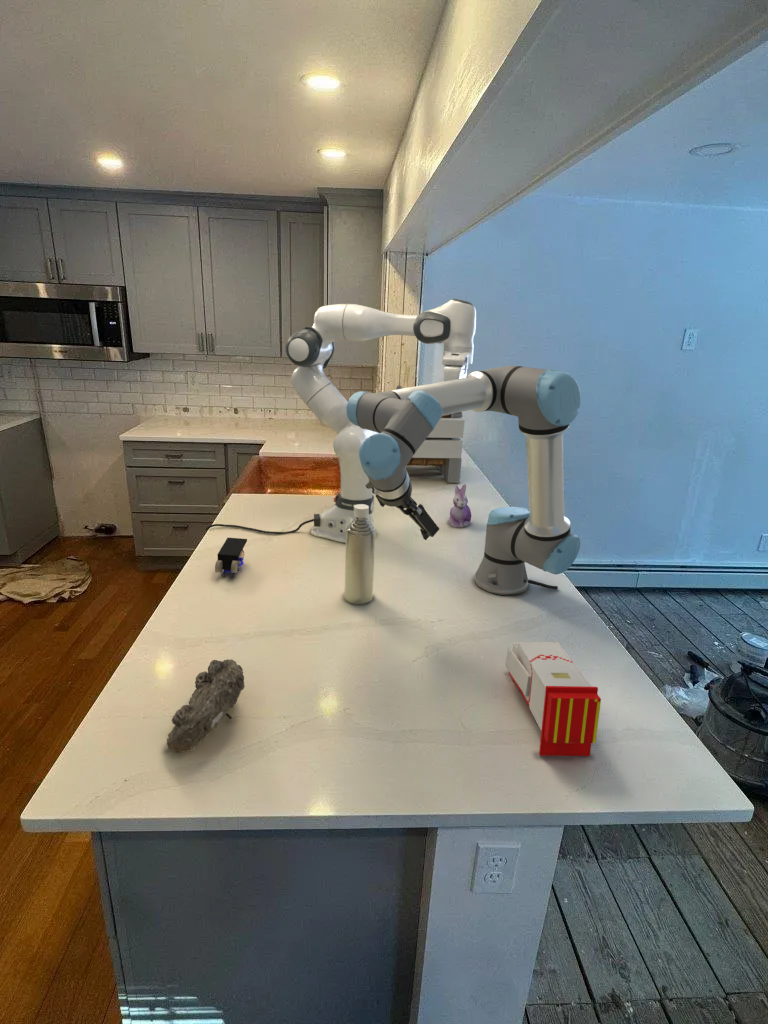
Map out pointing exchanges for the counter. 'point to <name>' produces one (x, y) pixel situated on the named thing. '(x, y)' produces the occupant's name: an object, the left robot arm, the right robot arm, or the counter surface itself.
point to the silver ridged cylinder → (359, 561)
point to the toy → (556, 697)
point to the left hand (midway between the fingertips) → (454, 403)
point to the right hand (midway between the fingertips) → (406, 518)
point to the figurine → (460, 508)
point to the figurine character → (230, 556)
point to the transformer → (442, 447)
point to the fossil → (206, 705)
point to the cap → (361, 510)
